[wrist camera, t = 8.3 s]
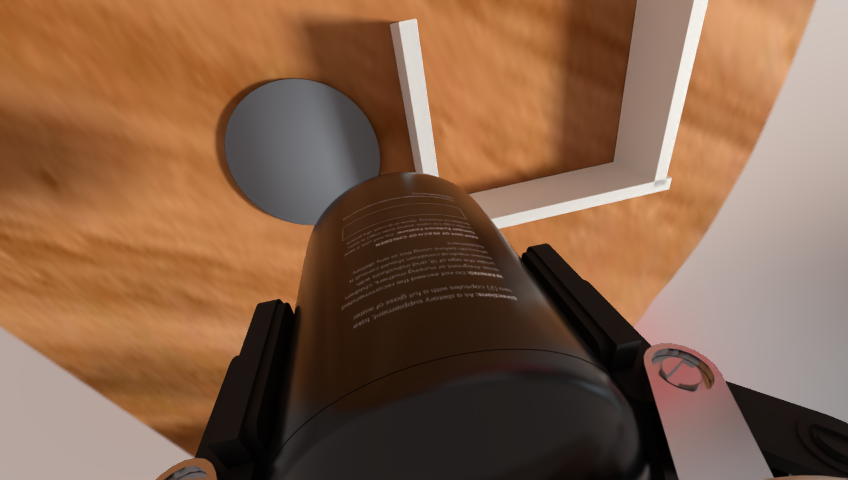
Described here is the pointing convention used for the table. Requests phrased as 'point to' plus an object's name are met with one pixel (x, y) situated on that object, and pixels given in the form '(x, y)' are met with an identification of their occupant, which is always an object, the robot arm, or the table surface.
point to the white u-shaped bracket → (638, 127)
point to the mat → (299, 148)
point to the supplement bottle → (438, 354)
